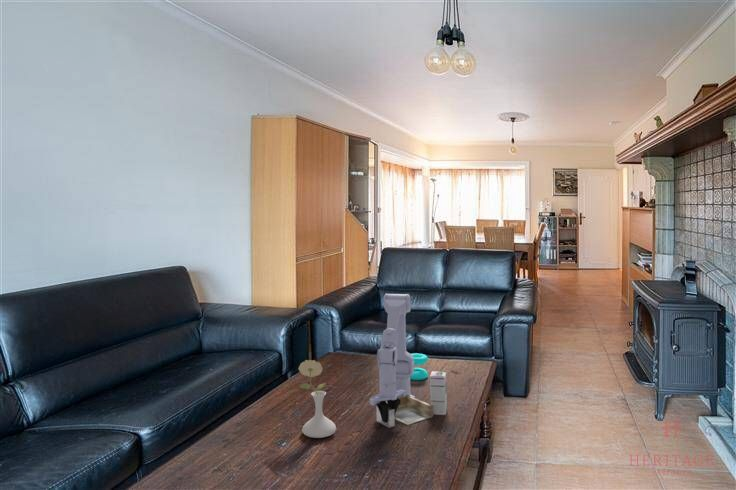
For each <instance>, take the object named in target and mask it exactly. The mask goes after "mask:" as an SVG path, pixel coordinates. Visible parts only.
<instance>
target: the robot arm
mask: <svg viewBox="0 0 736 490" xmlns="http://www.w3.org/2000/svg"><path fill="white" fill-rule="evenodd" d="M382 303H383V305H382V306H383V308H384V311H385V312H386V313H387V321H386V329H384V330H383V332H382V336H381V342H380V348H378V349H377V351H376V358H377V359H376V360H377V369H378V370H379V378H378V379H379V382H378V383H379V393H378V394H376V395H374V396H373V397H370V398H369V405H371V406H376V405H377V407H378V409H379V411H380V414H381V418H382V421H383V422H385V423H387V420H388V409H389V407H391V408H393V409H394V415H395V414H396V411H397V408H398V406H399V404H400V399H398V397H401V396H403V397H404V396H405V395H409V396H411V397H413V398H416V396H415V395H414V394H413V395H412V394H411V379H410V376H412V375H413V373H414V368H415V365H414V361H413V355H411V354H412V353H410V352H408V351H407V335H406V334H407V332H406V331H407V327H406V325H407V323H406V322H407V321H406V315H407V313H410V312H411V310H412V301H411V295H410V294H409V293H405V294H404V293H385V294H384V295H383V301H382ZM386 401H387V402H386Z"/></svg>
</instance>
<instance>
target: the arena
mask: <svg viewBox="0 0 736 490" xmlns="http://www.w3.org/2000/svg"><path fill="white" fill-rule="evenodd" d="M398 399H400V404H399V406H398V408H397V411H396V414H395V421H397V422H399V423H401V424H404V425H405V426H407V427H408V426H411V425H414V424H416V423H419V422H422V421H425V420H428V419H431V418H433V417H434V414H433V406H432V405H430V403H428V402H425V401H422V400H420V399H418V398H417V397H415V398H413V397H411V396H409V395H405V396H404V397H403V396H401V397H398ZM386 402H387V401H386Z"/></svg>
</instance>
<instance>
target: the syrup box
mask: <svg viewBox="0 0 736 490" xmlns="http://www.w3.org/2000/svg"><path fill="white" fill-rule="evenodd" d="M429 374H430V375H429V398H430V399H429V400H430V401H429V402H430V403H429V404H430V405H432V406H433V415H436V416H446V415H447V413H448V412H447V411H448V397H447V396H448V394H447V393H448V392H447V391H448V390H447V372H446V371H439V370H438V371H437V370H435V371H431V372H430V373H429Z"/></svg>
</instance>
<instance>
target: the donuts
mask: <svg viewBox="0 0 736 490" xmlns="http://www.w3.org/2000/svg"><path fill="white" fill-rule="evenodd" d="M410 354H411V355H413V361H414V366H422V365H425V364H426V363H427V362H428V361H429V358H428V356H427V354H423V353H417V352H416V353H414V352H413V353H410ZM428 376H429V373H428V370H426V369H425V368H421V367H414V373H413V375H412V376H410V380H413V381H421V380H425V379H427V378H428Z"/></svg>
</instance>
